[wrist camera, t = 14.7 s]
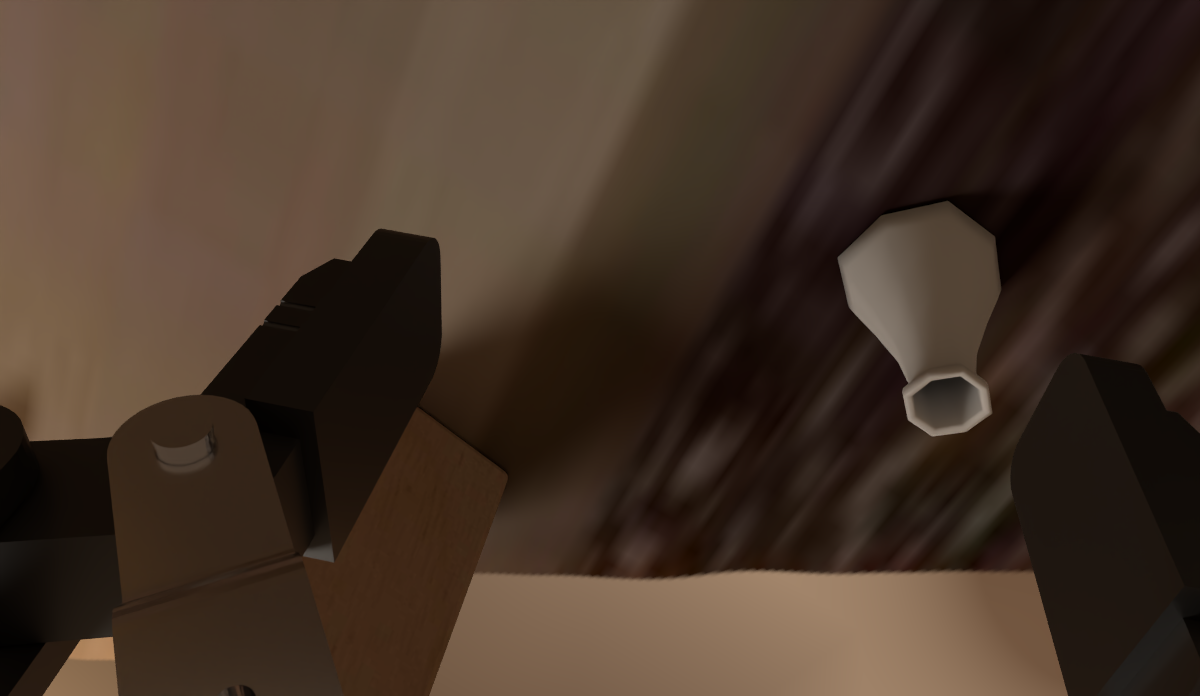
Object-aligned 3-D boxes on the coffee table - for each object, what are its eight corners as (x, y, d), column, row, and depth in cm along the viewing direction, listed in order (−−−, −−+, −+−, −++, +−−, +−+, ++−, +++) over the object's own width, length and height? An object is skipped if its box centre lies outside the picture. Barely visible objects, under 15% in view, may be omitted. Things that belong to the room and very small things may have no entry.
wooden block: (383, 376, 51) (201, 677, 36) (513, 473, 54) (398, 791, 39) (303, 455, 57) (114, 747, 41) (425, 539, 60) (293, 842, 44)
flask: (957, 172, 38) (1000, 294, 30) (1027, 291, 41) (1083, 432, 33) (810, 249, 42) (814, 378, 34) (884, 354, 44) (904, 496, 37)
